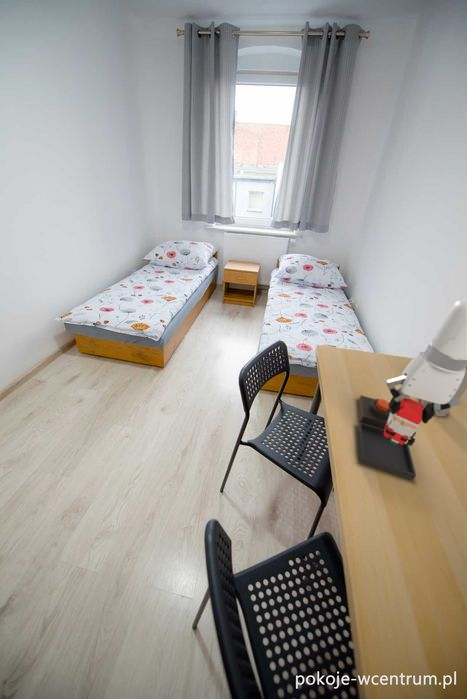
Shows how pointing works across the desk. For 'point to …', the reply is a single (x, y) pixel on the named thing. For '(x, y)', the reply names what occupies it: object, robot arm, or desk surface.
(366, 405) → the console
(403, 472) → the tray
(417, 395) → the robot arm
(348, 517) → the desk surface
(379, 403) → the button
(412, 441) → the figurine
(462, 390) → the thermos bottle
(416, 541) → the desk surface
